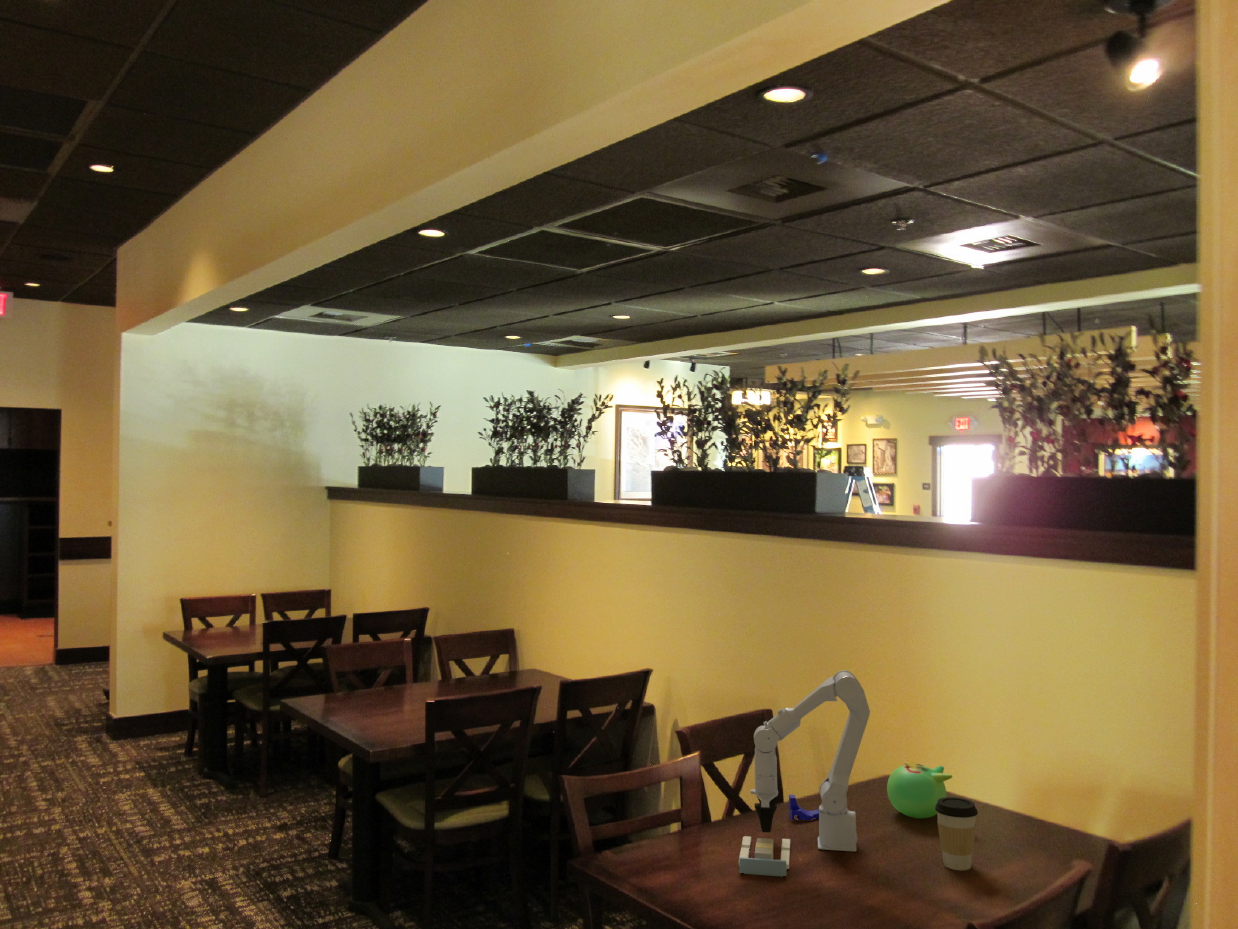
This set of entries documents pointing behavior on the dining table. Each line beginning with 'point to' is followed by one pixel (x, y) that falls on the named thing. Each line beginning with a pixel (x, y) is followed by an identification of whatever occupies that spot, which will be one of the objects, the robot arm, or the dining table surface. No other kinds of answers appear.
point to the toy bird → (917, 789)
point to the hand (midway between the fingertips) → (767, 826)
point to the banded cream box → (764, 848)
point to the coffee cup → (956, 831)
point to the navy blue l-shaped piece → (800, 810)
